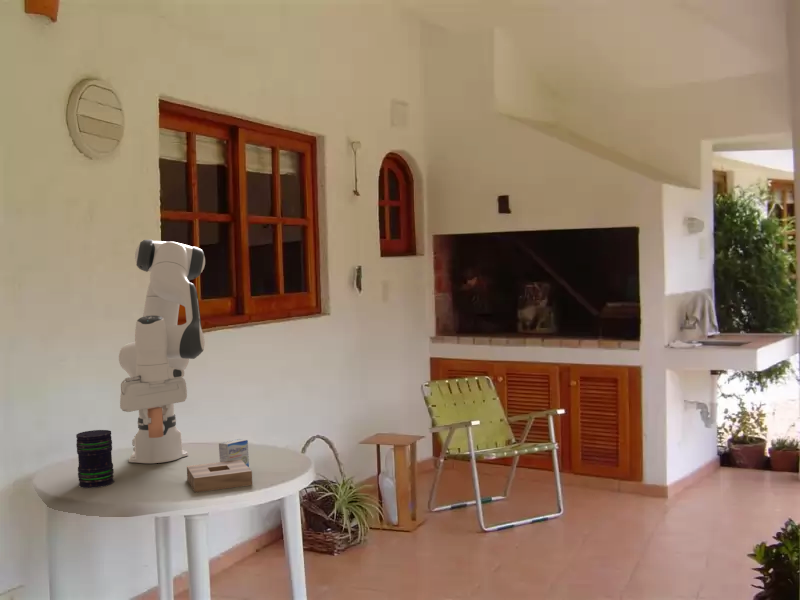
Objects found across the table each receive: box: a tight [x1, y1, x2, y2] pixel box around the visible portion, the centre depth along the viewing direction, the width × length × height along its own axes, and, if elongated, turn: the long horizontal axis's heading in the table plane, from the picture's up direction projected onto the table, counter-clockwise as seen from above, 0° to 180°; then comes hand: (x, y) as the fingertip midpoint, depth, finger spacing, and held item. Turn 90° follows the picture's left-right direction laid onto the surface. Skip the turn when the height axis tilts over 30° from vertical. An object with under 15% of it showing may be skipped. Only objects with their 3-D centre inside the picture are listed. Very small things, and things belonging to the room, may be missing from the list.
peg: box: [148, 407, 163, 438], centre depth 237 cm, size 4×4×8 cm
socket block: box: [186, 460, 253, 493], centre depth 243 cm, size 16×16×4 cm
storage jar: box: [75, 429, 115, 489], centre depth 247 cm, size 10×10×15 cm
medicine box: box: [218, 438, 250, 468], centre depth 259 cm, size 8×4×9 cm, turn 137°
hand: (155, 422), depth 237 cm, fingers closed on peg, 4 cm apart
